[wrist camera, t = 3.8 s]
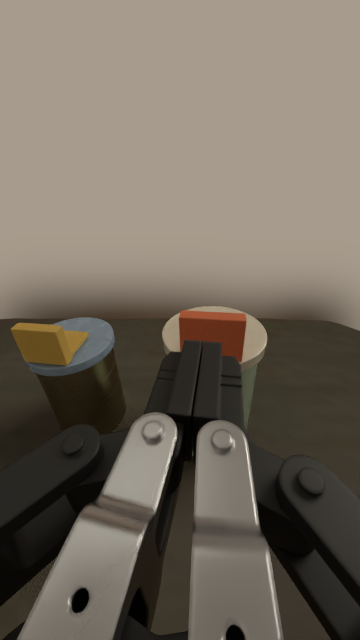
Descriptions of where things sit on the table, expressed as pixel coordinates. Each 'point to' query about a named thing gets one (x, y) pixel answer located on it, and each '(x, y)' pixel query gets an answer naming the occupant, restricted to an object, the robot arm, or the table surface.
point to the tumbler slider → (47, 343)
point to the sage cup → (251, 351)
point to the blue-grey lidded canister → (85, 380)
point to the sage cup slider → (214, 330)
